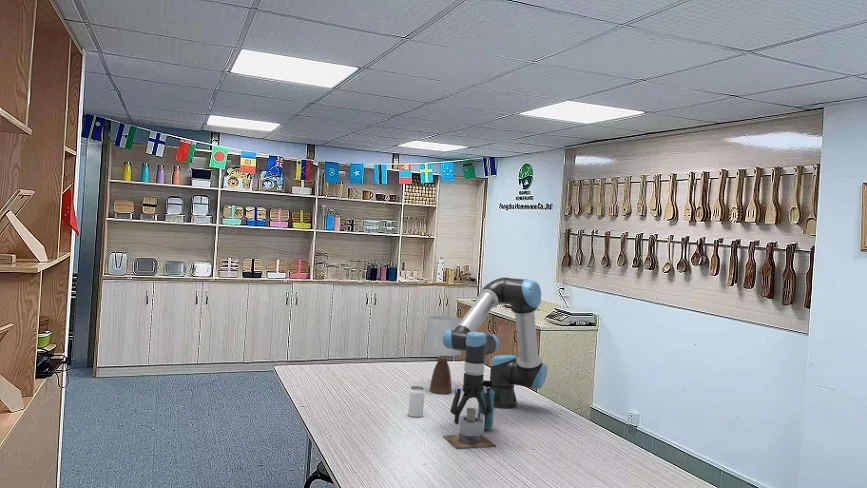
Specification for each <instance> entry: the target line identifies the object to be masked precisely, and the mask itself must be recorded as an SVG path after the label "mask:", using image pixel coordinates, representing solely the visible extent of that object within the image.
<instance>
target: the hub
mask: <svg viewBox="0 0 867 488" xmlns="http://www.w3.org/2000/svg"><path fill="white" fill-rule="evenodd" d="M461 416H462V415H461ZM483 433H484V432H483V420H482V419H481V418H479V417H478V416H475V421H473V422H470V421H466V415H463V416H462V417H461V431H460V434H461V435H466V436H480V435H481V434H482V435H483Z"/></svg>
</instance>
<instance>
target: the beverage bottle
mask: <svg viewBox="0 0 867 488" xmlns="http://www.w3.org/2000/svg"><path fill="white" fill-rule="evenodd" d="M492 386H493V385H492V381H490V379H489V380H486V379H485V380H484V379H483V387H488V388H489V387H492ZM494 394H495V392H494V391H493V390H492V389H490V401H491V408H492V413H489V414H488V415H487V421H486V423H484V429H489V428H490V429H491V428H492V427H493V425H494V413H495V412H494V408H495V407H494ZM481 397H482V400H483V403H484V405H485V408H486V404H485V397H484V392H483V391H482V392H481ZM477 405H478V411H477V417H479V418H480V414H481V413H482V411H481V408H480V406H479V403H478V404H477ZM482 414H483V413H482Z"/></svg>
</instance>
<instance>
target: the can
mask: <svg viewBox="0 0 867 488" xmlns="http://www.w3.org/2000/svg"><path fill="white" fill-rule="evenodd" d="M408 397H409V398H408V409H407V410H408V411H407V415H408V416H409V417H411V418H421V417H423V416H424V406H425V405H424V404H425V388H424V387H423V386H418V385H414V386H410V390H409V393H408Z"/></svg>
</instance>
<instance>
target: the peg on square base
mask: <svg viewBox="0 0 867 488" xmlns="http://www.w3.org/2000/svg"><path fill="white" fill-rule="evenodd" d="M476 412H477V409H476V408H474V407H467V408H466V415H465V416H466V421H470V422H473V421H475V417H476ZM442 438H443V439H444V440H445V441H447V442H448V443H449V444H451V445H452V447H454V448H455V449H456V450H460V449H461V450H463V449H481V448H482V449H483V448H496V447H497V445H496V444H495V443H494V442H492V440H490V439H488V438H487V437H486V436H484V435H483V433H482V434H481V435H480V436H466V435H461V434H460V433H458V434H448V435H447V434H446V435H442Z"/></svg>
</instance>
